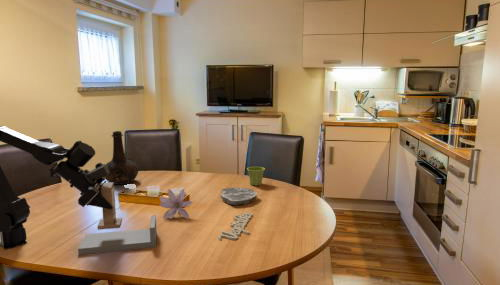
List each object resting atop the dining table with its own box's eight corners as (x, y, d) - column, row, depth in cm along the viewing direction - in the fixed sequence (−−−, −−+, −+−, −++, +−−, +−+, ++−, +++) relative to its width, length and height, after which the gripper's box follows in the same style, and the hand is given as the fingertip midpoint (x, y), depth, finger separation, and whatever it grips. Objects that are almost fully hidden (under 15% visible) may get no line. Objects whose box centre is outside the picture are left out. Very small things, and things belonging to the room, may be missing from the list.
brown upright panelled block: (120, 227, 119) (117, 187, 116) (97, 229, 117) (94, 188, 115) (122, 220, 124) (119, 182, 122) (100, 222, 123) (97, 183, 120)
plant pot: (244, 182, 193) (244, 167, 191) (261, 181, 196) (261, 165, 194) (250, 187, 184) (250, 171, 183) (267, 186, 187) (267, 170, 185)
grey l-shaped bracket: (78, 254, 114) (76, 234, 113) (86, 239, 124) (84, 220, 123) (155, 247, 119) (154, 227, 118) (156, 233, 130) (155, 215, 128)
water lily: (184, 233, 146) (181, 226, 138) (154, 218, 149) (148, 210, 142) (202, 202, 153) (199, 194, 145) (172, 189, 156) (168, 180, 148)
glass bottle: (145, 180, 196) (142, 130, 191) (118, 189, 181) (114, 135, 176) (124, 176, 205) (121, 128, 200) (96, 183, 190) (92, 132, 185)
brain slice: (263, 203, 161) (263, 197, 161) (228, 208, 155) (228, 202, 154) (248, 191, 179) (248, 185, 179) (215, 195, 173) (215, 189, 172)
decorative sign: (243, 241, 122) (216, 238, 124) (243, 244, 122) (216, 240, 124) (259, 213, 147) (236, 211, 149) (259, 215, 147) (236, 213, 150)
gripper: (86, 164, 107) (127, 196, 111) (97, 151, 125) (132, 180, 129) (60, 191, 106) (102, 222, 111) (75, 174, 124) (110, 202, 129)
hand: (113, 205), depth 120 cm, fingers closed on brown upright panelled block, 6 cm apart
